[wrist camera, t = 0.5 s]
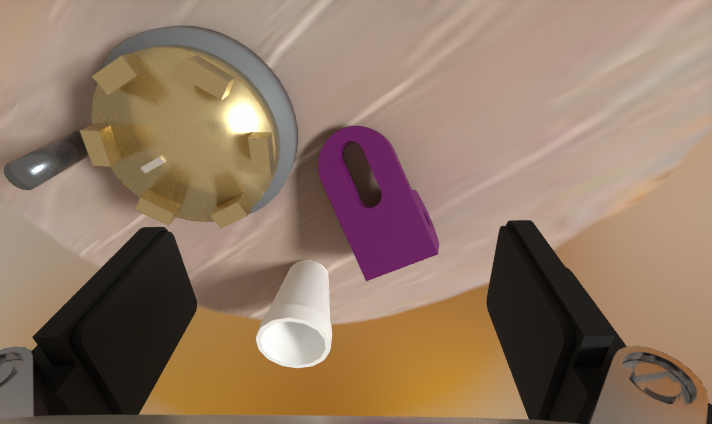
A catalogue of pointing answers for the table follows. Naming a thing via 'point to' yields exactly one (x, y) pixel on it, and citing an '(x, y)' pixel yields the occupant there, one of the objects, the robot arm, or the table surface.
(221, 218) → the brass lugged disc
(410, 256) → the mounting bracket
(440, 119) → the table surface
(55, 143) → the pin
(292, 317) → the foam cup
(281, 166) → the grey round plate
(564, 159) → the table surface
